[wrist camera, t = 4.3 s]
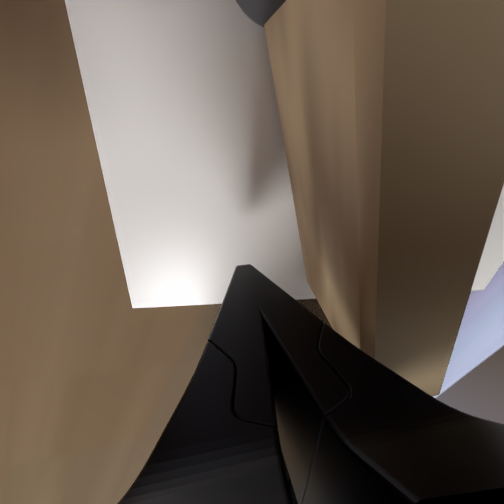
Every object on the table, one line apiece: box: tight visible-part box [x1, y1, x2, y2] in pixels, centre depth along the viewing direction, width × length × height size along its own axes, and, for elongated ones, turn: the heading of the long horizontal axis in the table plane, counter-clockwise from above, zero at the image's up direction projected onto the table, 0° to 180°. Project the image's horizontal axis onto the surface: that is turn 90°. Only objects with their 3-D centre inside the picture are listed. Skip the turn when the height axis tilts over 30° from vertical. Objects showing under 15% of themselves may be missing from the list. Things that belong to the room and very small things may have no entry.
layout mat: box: [65, 0, 504, 308], centre depth 7 cm, size 20×18×1 cm
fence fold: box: [264, 0, 504, 396], centre depth 7 cm, size 9×2×6 cm, turn 14°
